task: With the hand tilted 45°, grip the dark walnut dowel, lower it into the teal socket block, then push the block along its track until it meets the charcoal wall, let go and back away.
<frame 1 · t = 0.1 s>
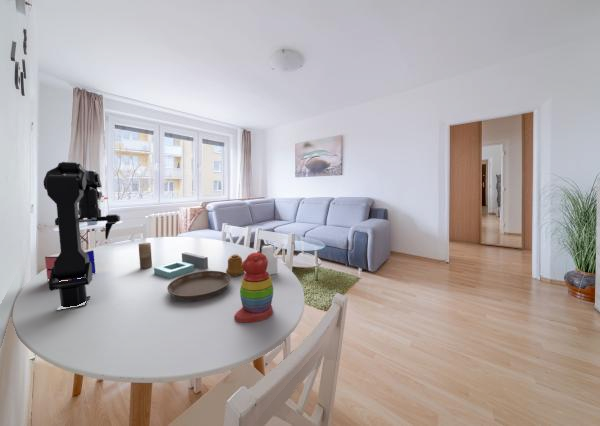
hand: (91, 240, 93), 15 cm above the table, tool pointing down, fingers open, 9 cm apart
ornamental finial: (235, 273, 97), on the table
medicine bottle: (267, 272, 98), on the table
plant saucer: (201, 290, 82), on the table
socket block: (174, 269, 98), point 1 cm above the table, slide at 0.0 cm
puzzle cube: (73, 277, 92), on the table
stacking bear: (256, 313, 66), on the table
walnut dowel: (146, 267, 104), on the table
charcoal wall: (194, 265, 106), on the table
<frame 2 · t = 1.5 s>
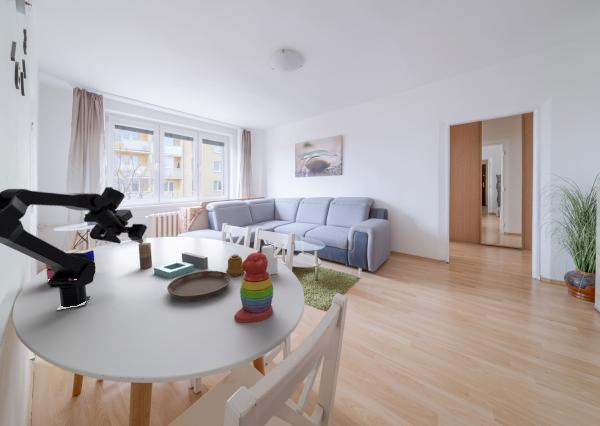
hand: (131, 242, 94), 13 cm above the table, tool tilted 45°, fingers open, 9 cm apart
nothing on the table moved.
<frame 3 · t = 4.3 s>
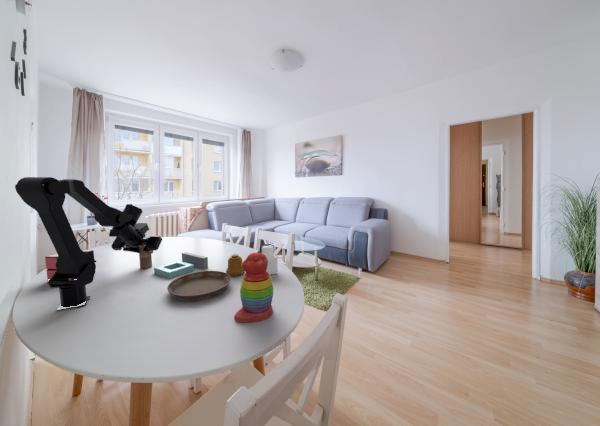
hand: (147, 252, 104), 7 cm above the table, tool tilted 45°, fingers closed on walnut dowel, 4 cm apart
walnut dowel: (146, 267, 104), on the table, touching gripper
everything else where it was.
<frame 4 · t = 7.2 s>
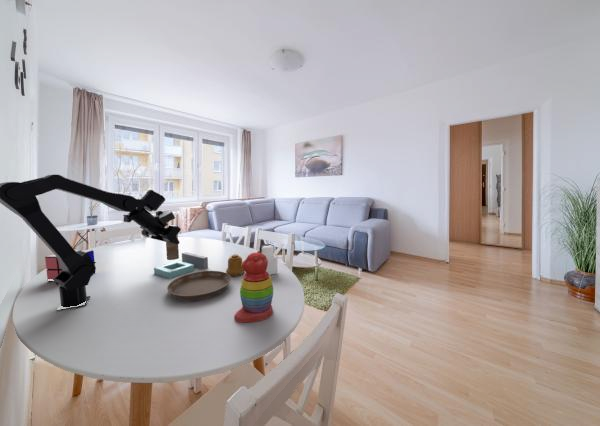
hand: (175, 242, 99), 12 cm above the table, tool tilted 45°, fingers closed on walnut dowel, 4 cm apart
walnut dowel: (173, 258, 98), point 6 cm above the table, touching gripper
everything else where it was.
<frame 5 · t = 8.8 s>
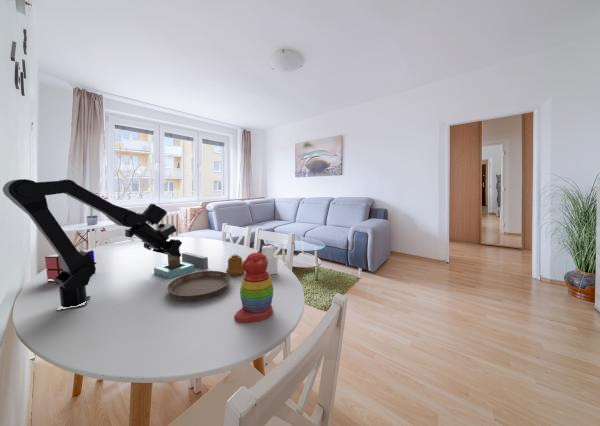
hand: (176, 255, 99), 7 cm above the table, tool tilted 45°, fingers closed on walnut dowel, 4 cm apart
walnut dowel: (174, 270, 98), point 1 cm above the table, touching gripper
everything else where it was.
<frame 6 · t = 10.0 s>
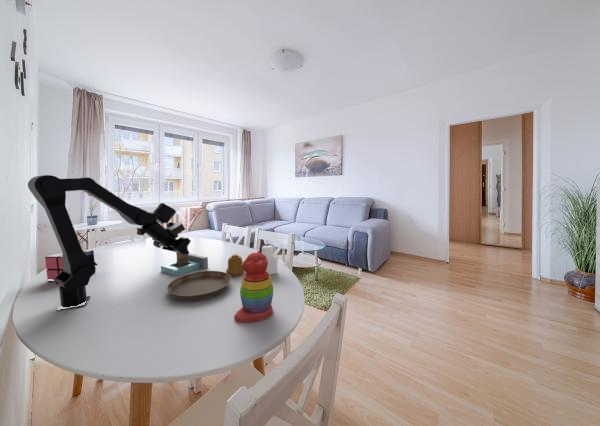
hand: (185, 252, 102), 7 cm above the table, tool tilted 45°, fingers closed on walnut dowel, 4 cm apart
socket block: (180, 267, 100), point 1 cm above the table, slide at 2.8 cm
walnut dowel: (182, 268, 101), point 1 cm above the table, touching gripper
everything else where it was.
when the fingers open (7 cm above the table, at t = 10.3 s): walnut dowel stays where it is, resting in socket block.
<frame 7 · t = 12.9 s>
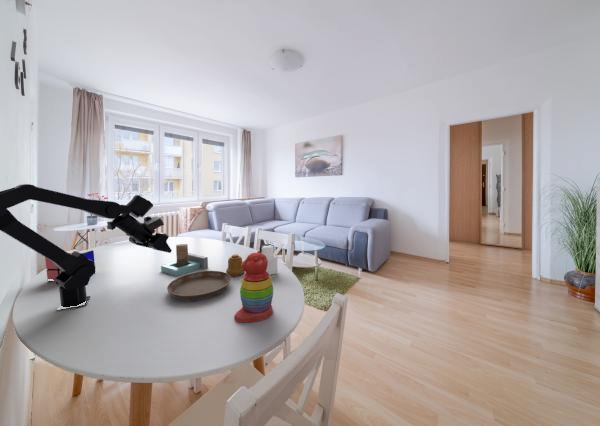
hand: (164, 250, 94), 11 cm above the table, tool tilted 45°, fingers open, 9 cm apart
walnut dowel: (182, 269, 101), resting in socket block
everything else where it was.
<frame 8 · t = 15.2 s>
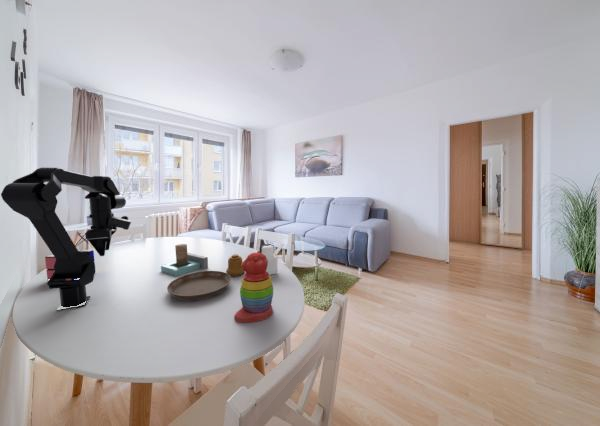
hand: (104, 252, 84), 12 cm above the table, tool pointing down, fingers open, 9 cm apart
nothing on the table moved.
at the end: socket block slide at 2.8 cm; walnut dowel 0.7 cm from the target spot, resting in socket block; walnut dowel tilted 1° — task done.
